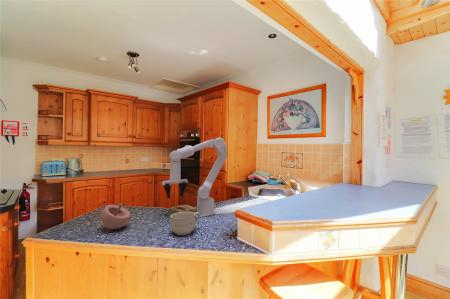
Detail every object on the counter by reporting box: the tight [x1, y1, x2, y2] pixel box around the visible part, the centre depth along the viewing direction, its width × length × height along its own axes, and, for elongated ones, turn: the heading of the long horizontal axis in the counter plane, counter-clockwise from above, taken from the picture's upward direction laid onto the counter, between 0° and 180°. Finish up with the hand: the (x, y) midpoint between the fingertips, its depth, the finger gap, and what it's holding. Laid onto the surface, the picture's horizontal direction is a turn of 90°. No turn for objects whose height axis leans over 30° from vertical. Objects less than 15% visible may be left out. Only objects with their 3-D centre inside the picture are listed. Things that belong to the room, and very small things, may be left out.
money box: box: [170, 203, 197, 221], centre depth 105 cm, size 9×10×6 cm
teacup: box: [169, 211, 202, 236], centre depth 91 cm, size 14×11×8 cm
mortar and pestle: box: [100, 202, 132, 230], centre depth 94 cm, size 12×12×12 cm
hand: (175, 196), depth 115 cm, fingers open, 7 cm apart
